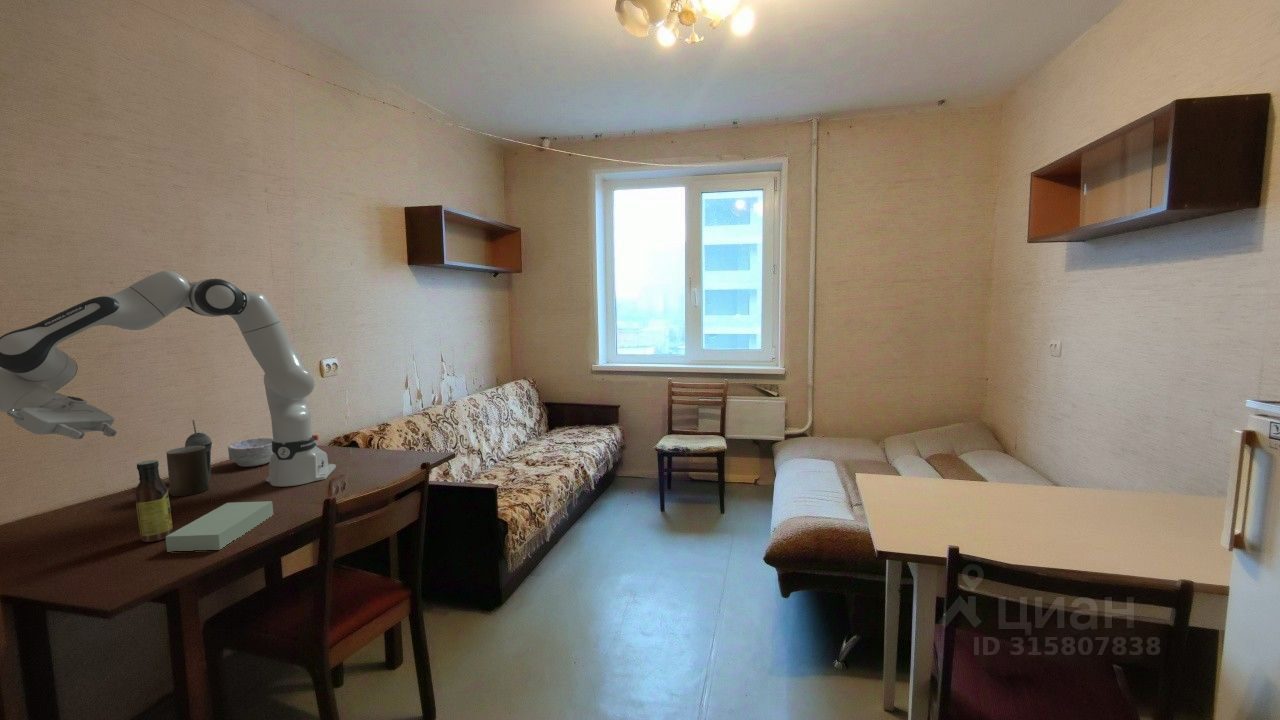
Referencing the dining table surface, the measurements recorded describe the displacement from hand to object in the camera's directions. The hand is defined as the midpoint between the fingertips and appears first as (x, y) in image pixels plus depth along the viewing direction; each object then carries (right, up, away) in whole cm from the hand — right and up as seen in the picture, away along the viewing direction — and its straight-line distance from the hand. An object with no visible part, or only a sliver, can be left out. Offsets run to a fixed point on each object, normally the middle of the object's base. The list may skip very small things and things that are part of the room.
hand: (98, 435), depth 136 cm
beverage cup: (-15, -22, +51) cm, 57 cm away
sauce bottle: (+12, -27, +3) cm, 30 cm away
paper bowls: (-8, -20, +67) cm, 71 cm away
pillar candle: (-8, -23, +38) cm, 45 cm away
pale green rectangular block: (+27, -26, +6) cm, 38 cm away
